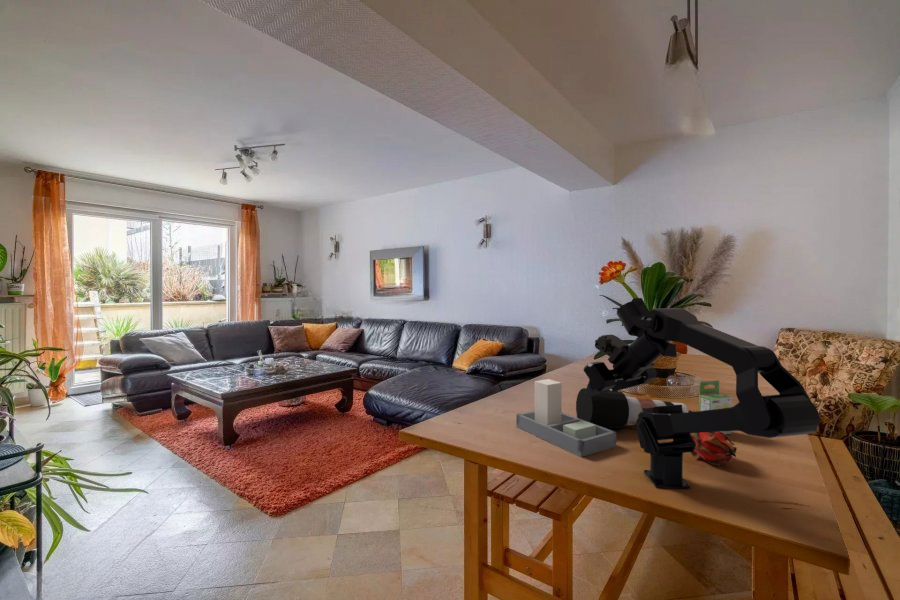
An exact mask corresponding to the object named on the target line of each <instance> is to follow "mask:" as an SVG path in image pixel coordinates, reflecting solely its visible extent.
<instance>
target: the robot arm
mask: <svg viewBox="0 0 900 600" xmlns="http://www.w3.org/2000/svg"><path fill="white" fill-rule="evenodd" d="M616 315H617V317H618V319H619V321H620V322H621V324H622V326H623V328H624V329H625V331H626V332H627V334H628V335H629V336H631V337H633V336H634V337H636V338H635V339H634V340H633V341H632V342H631V343H630V344H628V343H627V342H626V341H624V340H623V339H621V338H619V337H618V336H617V335H614V334H604V335H601V336H598V338H597V339H595V341H594V347H595V349H597V350H598V351H599V352H601V353H603V354H605V355H606V356H607V357H608V358H607V361H608V362H609V363H610V364H612V368H611V369H609V368H608V365H606V363H605V362H604V361H593V362H588V363H587V364H586V365H585V366H584V367H583V372H584V373H585V375H586V376H587V378H588V379H589V381H588V383H587V385H586V387H585V388H586V391H585V395H586V397H590V396H594V395H597V394H600V393H604V392H607V391H610V390H612V391H613V392H615V391H622V390H626V389H630V388H634V387H637V386H642V385H645V384H647V383H651V382H652V381H654V380H655V379H656V378H657V377H658V376H657V375H658V374H657V373H658V372H657V370H656V369H655V366H656V365H655V362H656V361H657V360H658V359H660V358H661V356H662V357H667V358H668V357H670V358H677V356H678V354H677V353H678V352H677V344H676V343H681V344H684V345H686V346H689V347H690V348H692V349H695V350H696V351H699V352H701V353H703V354H705V355H707V356H709V357H712V358H713V359H716V360H718V361H720V362H722V363H724V364H726V365H729V366H730V367H732V369H733V371H734V373H735V375H736V376H735V377H736V378H735V379H736V380H735V395H736V398H737V400H738V402H737V403H736V404H735V405H732V407H731V408H723V409H714V410H705V411H699V410H697V411H695V412H688V413H685V412H683V410H682V405H669V406H656V407H651V408H643V411H644V412H640V413H639V414H638V419H637V421H636V425H635V426H636V427H635V428H636V432H637V436H638V437H637V438H638V442H639V446H640V448H641V449H643V451H644V453H646V454H650V461H649V463H650V464H649V465H650V468H649V469H643V474H644V475H645V477H646V478H647V479H648V480H649V481H650V482H651V483H652V484H653V486H654V487H656V488H669V489H670V488H671V489H672V488H673V489H691V485H690V483H688V482H687V480H685V478H684V477H683V474H684V470H683V468H684V467H683V465H684V454H686V453H690V454H691V453H692V452H694V449H695V447H696V443H695V441H694V439H693V438H692V436H691V434H690V433H701V432H721V431H732V432H741V433H744V434H746V435H749V436H755V437H760V438H765V439H772V438H782V437H783V438H784V437H793V436H801V435H802V436H803V435H810V434H814V433H816V432H817V430H818V428H819V427H818V426H819V425H820V415H819V414H820V413H819V411H818V409H817V407H816V405H815V404H814V403H813V402H812V400H811V399H810V397H809V395H808V393H807V391H806V390H805V388H804V386H803V384H802V383H801V382H800V381H799V380H798V378H796V377H795V376H794V375H793V374H791V372H789V371H788V369H786V368H785V367H784V366H783V365H782V363H781V362H780V360H779V358H778V356H777V354H776V353H775V352H774V351H773V350H772V349H770V348H768V347H766V346H763V345H758V344H755V343H752V342H749V341H746V340H744V339H742V338H739V337H737V336H734V335H732V334H730V333H729V334H728V333H727V332H724V331H721V330H719V329H716V328H714V327H711V326H708V325H705V324H704V323H702V322H700V321H699V319H698V318H697V316H696V315H695V314H693V313H692V312H690V311H688V310H686V309H685V308H681V307H671V308H670V307H669V308H664V307H663V308H651V310H649V308H648V307H647V305H646V304H645V301H644V300H643V298H642V297H633V298H632V299H631V301H629V302H626V303H624V304H622V305H621V306H619V307H618V308H617V311H616ZM671 342H675V343H671ZM759 375H760V376H761V377H762V379H764V380H765V381H766V382H767V383H768V384H769V385H770V386H771V387H772V388H773V389H775V391H776V392H778V393H779V394H768V395H766V394H765V395H762V393H761V391H760V389H759ZM664 440H665V441H664ZM667 440H671V441H667ZM659 441H661V442H659Z"/></svg>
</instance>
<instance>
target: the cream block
mask: <svg viewBox="0 0 900 600" xmlns="http://www.w3.org/2000/svg"><path fill="white" fill-rule="evenodd" d="M562 387H563V386H562V382H560V381H556V380H553V379H549V378H546V379H540V380H535V381H534V411H535V421H538V422H540V423H542V424H545V425H551V424H556V423H560V422H561V412H562Z"/></svg>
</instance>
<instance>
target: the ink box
mask: <svg viewBox="0 0 900 600" xmlns="http://www.w3.org/2000/svg"><path fill="white" fill-rule="evenodd" d="M710 385H712V386H714V387H712V388H705V387H706V386H707V387H708V386H710ZM698 398H699V399H698V400H699V403H698V404H699V405H698V411H705V410H714V409H723V408H731V407H733V397H732V396H730V395H726V394H724V393H720V380H719V379H717V380H707V381H700V382H699V395H698ZM721 432H722V433H724V434H726V435H731V434H732V433H733V431H721Z"/></svg>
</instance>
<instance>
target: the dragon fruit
mask: <svg viewBox="0 0 900 600" xmlns="http://www.w3.org/2000/svg"><path fill="white" fill-rule="evenodd" d="M690 434H691V436H692V438H693V439H694V441H695V443H696V447H695V449H694V452H692V453H690V454H691V456H692V457H697V456H700V457H701V458H702V459H703V460H704V461H705V462H706V463H708V464H710V465H713V466H722V465H721V464H720V463H719V462H716V461H722V462H728V463H731V462H732V461H733V460H734V458H737V456H736V453H737V450H738V447H736V446H735V443H734V442H732V441H731V439H732V438H730V436H728V434H724V433H722V432H701V433H690Z"/></svg>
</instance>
